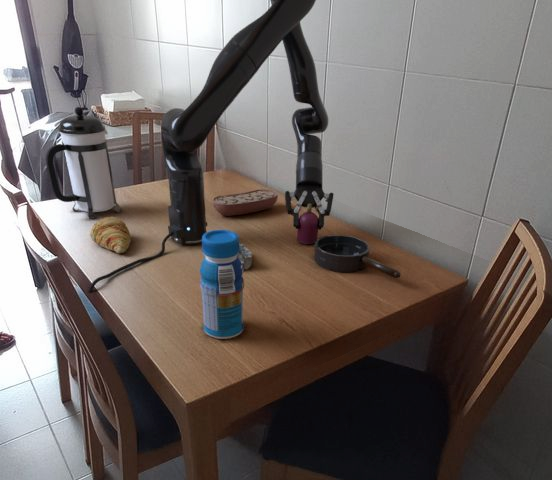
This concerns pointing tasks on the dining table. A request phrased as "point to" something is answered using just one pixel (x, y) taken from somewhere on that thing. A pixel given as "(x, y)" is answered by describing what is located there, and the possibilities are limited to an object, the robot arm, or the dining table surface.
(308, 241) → the purple eggplant
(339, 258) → the pan
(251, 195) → the anatomical model
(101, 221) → the croissant
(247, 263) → the grey irregular chunk
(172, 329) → the dining table surface
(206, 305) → the beverage bottle
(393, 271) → the pan handle
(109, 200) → the coffee press
